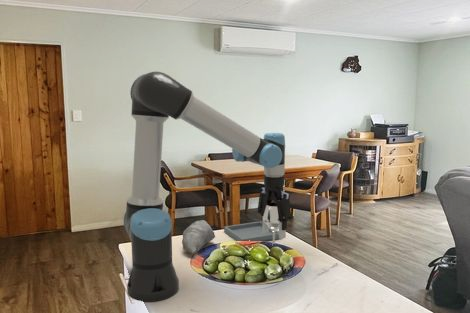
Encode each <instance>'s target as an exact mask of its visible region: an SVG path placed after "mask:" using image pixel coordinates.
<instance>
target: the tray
mask: <svg viewBox="0 0 470 313" xmlns="http://www.w3.org/2000/svg"><path fill="white" fill-rule="evenodd" d="M223 233H225V235H227V236H229V237H230V238H231V239H232V240H234V241H235V240H236V241H249V240H250V241H267V242H273V233H272V231H271V230H270V229H269V232H266V233H262V220H260V221H253V222H247V223H240V224H233V225H226V226H223ZM279 240H280V239H279V230H277V231H276V232H275V241H279ZM236 241H235V242H236Z"/></svg>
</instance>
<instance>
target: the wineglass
mask: <svg viewBox="0 0 470 313" xmlns="http://www.w3.org/2000/svg"><path fill="white" fill-rule="evenodd" d="M279 221H281V219H280V216H279V212H278V209H277V205H276V204H275V202H271V203H270V204H268V203H267V204H266V208H265V211H264V215H263V222H264V224H265V225H266V226H267V227H268V228H269V229H270V230H271V231H272V233H273V241H272V245H273V244H275V245H276V243H275V242H276V240H275V232H276V231H279Z"/></svg>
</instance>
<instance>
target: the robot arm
mask: <svg viewBox="0 0 470 313" xmlns="http://www.w3.org/2000/svg"><path fill="white" fill-rule="evenodd" d="M130 99H131V117H132V118H133V119H134V120H135V131H134V134H135V135H134V150H133V151H134V152H133V153H134V154H133V170H132V171H133V172H132V188H131V190H132V191H131V193H132V194H131V195H130V196H129V197H128V198H127V199H126V207H125V208H126V211H125V213H124V217H123V226H124V229H125V231H126V233H127V235H128V237H129V240H130V242H131V261H132V262H131V263H132V265H131V266H132V267H131V271H130V274H129V278H128V281H127V286H126V290H127V292H126V293H127V295H128V297H129V298H131V299H132V300H135V301H138V302H157V301H162V300H166V299H168V298H171V297H173V296H174V295H175V294H177V292H178V291H179V288H180V284H179V283H180V281H179V277H178V275H177V271H176V269H175V267H174V263H173V239H172V238H173V237H172V236H173V234H172V229H173V223H172V218H171V215H170V214H169V212H167V211H166V210H164V200H163V198H161V197H160V182H161V169H162V167H161V166H162V154H163V153H162V150H163V137H164V136H163V135H164V134H163V133H164V123H165V122H166V121H167V120H169V117H171V118H172V119H174V120H183V121H184V122H186V123H188V124H189V125H191V126H193V127H194V128H196V129H198V130H200V131H201V132H203V133H205V134H206V135H208V136H210V137H211V138H213V139H215V140H217V141H219V142H220V143H222V144H224V145H226V146H227V147H229V148H230V149H231V151H232V152H231V153H232V154H231V155H232V157H233V160H234V161H235V162H238V163H239V162H240V163H244V162H250V163H253V164H256V165H260V166H261V167H263V174H264V176H263V185H264V186H265V187H259V188H258V192H259V196H258V203H257V204H258V205H257V213H258V214H259V215H260V216H261V222H262V233H266V232H269V228H268V227H267V226H266V225H265V224H264V222H263V215H264V211H265V208H266V204H267V203H268V204H270V203H275V204H276V205H277V209H278V212H279V216H280V219H281V221H279V229H278V231H279V240H282V239H286V238H287V237H286V236H287V234H286V231H287V230H288V222H289V221H292V218H293V217H292V210H291V209H292V208H291V202H290V198H291V193H289V192H285V191H284V187H285V182H286V181H285V180H286V178H285V177H286V176H284V175H285V174H286V173H285V172H286V171H285V170H286V168H285V166H286V165H285V162H286V161H285V160H286V158H285V157H286V139H285V135H284V133H280V132H267V133H264V136H263V138H262V137H260V136H258V135H257V134H255V133H254V132H252V131H250V130H249V129H247V128H246V127H243V126H242V125H241V124H239V123H237V122H236V121H234V120H232V119H231V118H229V117H227V116H226V115H225V114H223V113H221V112H220V111H218V110H216V109H214V108H213V107H211V106H210V105H208V104H207V103H205V102H203V101H202V100H200V99H199V98H197V97H195V95H194V93H193V90H191V89H189V88H187V87H186V86H185V85H183V84H181V83H180V82H179V81H177V80H176V79H175V78H173V77H172V76H170V75H169V74H166V73H164V72H161V71H150V72H147V73H145V74H142V75H140V76H138V77H137V78H136V79H135V80H134V81H133V82H132V85H131V88H130ZM272 201H274V202H272Z"/></svg>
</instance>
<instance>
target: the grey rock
mask: <svg viewBox="0 0 470 313" xmlns="http://www.w3.org/2000/svg"><path fill="white" fill-rule="evenodd" d="M215 238H216V235H215V231H214V230H213V229H212V227H211V225H210V224H208V222H207V221H206V220H203V219H201V220H196V221H194V222H192V223H191V224H190V225H189V226H188V227H186V229H184V230H183V232H182V240H181V244H182V248H183V250H184V251H185V252H186V253H187V254H190V255H191V254H192V255H195V254H196V253H198V252H199V251H201V249H202V247H204V246H205V245H206V244H207V243H209V242H211V241H213V240H214V239H215ZM197 251H198V252H197Z"/></svg>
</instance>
